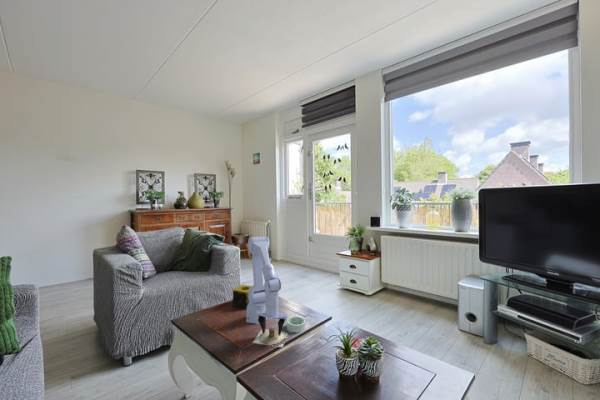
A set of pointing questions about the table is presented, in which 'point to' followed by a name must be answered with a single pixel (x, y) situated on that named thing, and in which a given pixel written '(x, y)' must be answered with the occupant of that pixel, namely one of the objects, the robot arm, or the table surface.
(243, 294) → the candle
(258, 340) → the mat
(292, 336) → the table surface
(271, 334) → the lid
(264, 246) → the robot arm
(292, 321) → the bowl
